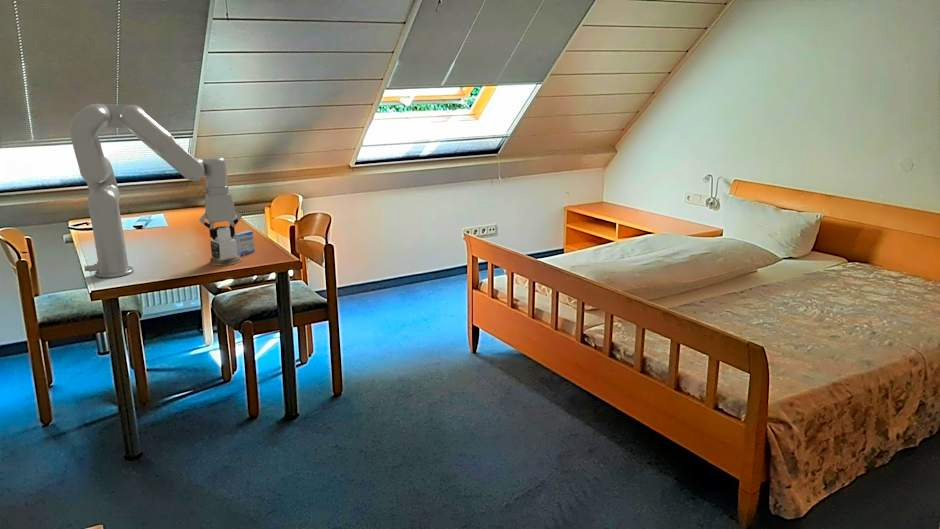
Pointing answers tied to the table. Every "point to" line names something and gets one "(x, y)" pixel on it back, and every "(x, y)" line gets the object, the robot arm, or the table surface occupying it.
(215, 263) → the grey flat disc
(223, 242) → the medicine bottle
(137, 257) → the table surface
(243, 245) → the medicine box
